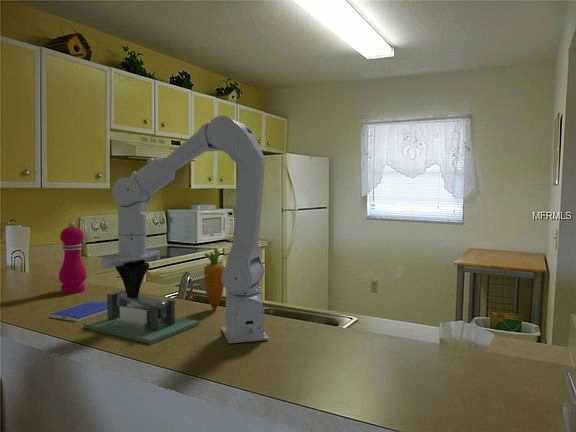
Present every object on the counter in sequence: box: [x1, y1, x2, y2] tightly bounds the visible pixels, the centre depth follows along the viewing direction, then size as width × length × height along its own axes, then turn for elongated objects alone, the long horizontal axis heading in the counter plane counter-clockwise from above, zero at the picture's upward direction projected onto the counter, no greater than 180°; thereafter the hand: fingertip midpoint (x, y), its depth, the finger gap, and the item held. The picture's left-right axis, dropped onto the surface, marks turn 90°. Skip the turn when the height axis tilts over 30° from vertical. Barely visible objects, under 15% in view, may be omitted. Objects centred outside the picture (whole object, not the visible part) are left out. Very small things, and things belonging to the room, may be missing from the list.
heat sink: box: [117, 302, 167, 332], centre depth 96 cm, size 8×8×4 cm
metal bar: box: [117, 292, 170, 310], centre depth 96 cm, size 13×3×3 cm, turn 61°
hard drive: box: [50, 300, 107, 322], centre depth 107 cm, size 2×8×12 cm
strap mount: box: [106, 289, 176, 331], centre depth 97 cm, size 15×6×6 cm, turn 61°
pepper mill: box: [58, 221, 88, 295], centre depth 127 cm, size 7×7×20 cm
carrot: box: [203, 248, 225, 310], centre depth 110 cm, size 5×5×15 cm
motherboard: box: [82, 316, 200, 345], centre depth 96 cm, size 20×14×1 cm
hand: (132, 296), depth 97 cm, fingers closed, pressing on metal bar
